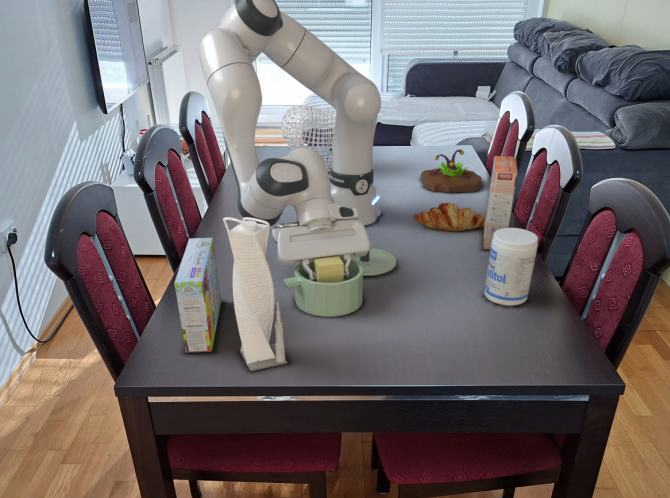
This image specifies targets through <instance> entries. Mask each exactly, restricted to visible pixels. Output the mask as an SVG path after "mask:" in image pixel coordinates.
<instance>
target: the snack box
mask: <svg viewBox="0 0 670 498" xmlns="http://www.w3.org/2000/svg"><path fill="white" fill-rule="evenodd" d="M184 250H185V251H184V253H183V257H182V259H181V262H180V265H179V268H178V271H177V274H176V276H175V280H174V283H173V284H174V290H175V296H176V301H177V306H178V307H177V308H178V312H179V313H178V314H179V319H180V325H181V331H182V336H183V342H184V343H183V344H184V350H185V353H186V354H190V353H209V352H210V353H211V352H212V351H213V347H214V342H215V336H216V331H217V325H218V321H219V320H218V319H219V315H220V309H221V305H222V297H221V289H220V281H219V275H218V266H217V259H216V251H215V243H214V237H193V238H188V241H187V244H186V247H185V249H184Z"/></svg>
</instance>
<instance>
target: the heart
mask: <svg viewBox="0 0 670 498" xmlns="http://www.w3.org/2000/svg"><path fill="white" fill-rule="evenodd" d="M306 113H307V114H306ZM302 116H303V118H302ZM298 121H299V122H298ZM302 121H303V122H302ZM335 124H336V109H335V108H334V107H331V108H328V109H319V108H316V107H313V106H310V105H307V104H297V105H294V106H291V107H290V108H289V109H287V110H286V111H285V113H284V114H283V116H282V118H281V122H280V131H281V135H282V137H283V140H284V142H285V143H286V144H287V146H288V147H289V148H290V149H291V151H292V150H293V149H296V148H299V147H308V148H312V149H315V150H316V151H318V152H319V154H320V155H321V156H322V158H323V160H324V162H325V165H326V168H327V171H328V173H330V172H329V171H331V169H329V168H332V154H330V153H331V152H332V151H330V150H329V149H330V148H331V149H332V139H333V137H334V131H335ZM316 131H317V132H316ZM316 135H317V136H316ZM294 136H295V137H294ZM320 136H321V137H320ZM302 137H303V138H304V139H303V138H302ZM306 138H308V139H307V140H306ZM311 139H312V141H310V140H311ZM315 139H316V141H315ZM320 140H321V141H320ZM301 142H302V143H301ZM305 143H307V144H305ZM310 144H311V146H310ZM315 144H316V146H315ZM326 144H327V145H326ZM328 144H329V147H328ZM320 145H321V146H320ZM325 145H326V146H325ZM320 149H321V150H320ZM325 149H326V150H325ZM325 153H326V154H325Z"/></svg>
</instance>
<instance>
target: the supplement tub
mask: <svg viewBox="0 0 670 498" xmlns="http://www.w3.org/2000/svg"><path fill="white" fill-rule="evenodd" d="M538 246H539V237H538V235H537V234H536V233H534V232H532V231H530V230H527V229H523V228H519V227H508V228H503V229H499V230H497V231H495V233H494V236H493V239H492V244H491V250H489V256H488V257H489V258H488V264H487V269H486V278H485V284H484V290H483V291H484V293H483V294H484V296H485V297H486V298H487V299H488V300H489V301H491V302H492V303H495V304H496V305H497V304H498V305H501V306H508V307H511V306H512V307H514V306H519V305H521V304H524V303H525V302H527V299H528V297H529V293H530V292H529V291H530V286H531V282H532V278H533V277H532V276H533V271H534V266H535V262H536V256H537V252H538V251H537V250H538Z"/></svg>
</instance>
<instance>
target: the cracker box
mask: <svg viewBox="0 0 670 498" xmlns="http://www.w3.org/2000/svg"><path fill="white" fill-rule="evenodd" d="M491 171H492V172H491V178H490V185H489V192H488V199H487V205H486V212H485V213H486V214H485V218H486V220H485V227H483V247H482V249H483V250H487V251H490V250H491V244H492V239H493V236H494V233H495V231H497V230H499V229H503V228H510V227H509V226H510V222H511V221H510V220H511V214H512V209H513V208H512V207H513V201H514V196H515V189H516V183H517V177H518V165H517V157H515V156H505V155H494V156H493V163H492V170H491Z"/></svg>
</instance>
